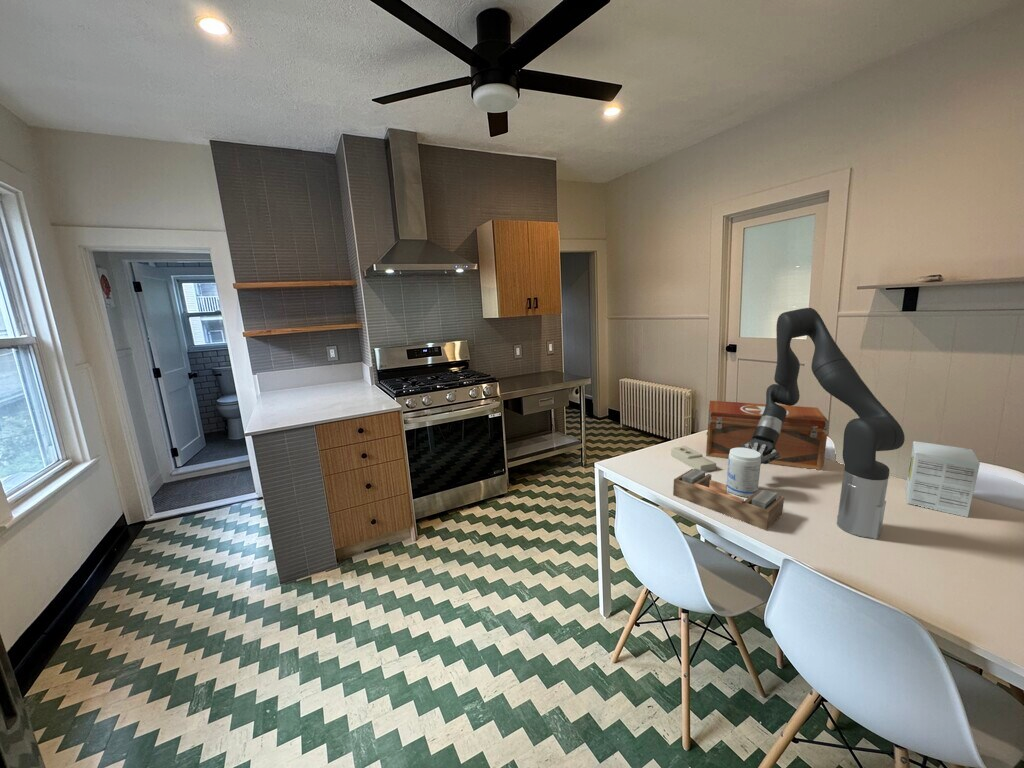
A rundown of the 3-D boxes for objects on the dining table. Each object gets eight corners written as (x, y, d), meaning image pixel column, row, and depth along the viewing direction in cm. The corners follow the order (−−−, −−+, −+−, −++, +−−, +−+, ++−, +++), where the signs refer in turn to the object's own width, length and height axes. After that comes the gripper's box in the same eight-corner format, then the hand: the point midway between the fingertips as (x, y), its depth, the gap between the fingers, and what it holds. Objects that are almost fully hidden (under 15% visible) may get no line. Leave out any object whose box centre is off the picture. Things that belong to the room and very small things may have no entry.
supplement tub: (720, 486, 140) (722, 448, 137) (744, 484, 141) (748, 445, 138) (738, 499, 130) (741, 458, 127) (764, 496, 131) (768, 456, 128)
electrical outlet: (700, 463, 151) (671, 447, 168) (700, 473, 152) (670, 456, 169) (716, 460, 153) (685, 445, 170) (715, 470, 153) (684, 454, 170)
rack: (782, 514, 120) (785, 485, 118) (766, 530, 113) (769, 499, 111) (691, 483, 143) (692, 459, 141) (673, 495, 135) (674, 469, 133)
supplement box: (904, 488, 132) (912, 440, 129) (962, 500, 123) (973, 448, 120) (905, 504, 123) (915, 452, 119) (969, 518, 114) (981, 462, 110)
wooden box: (824, 471, 147) (830, 421, 143) (705, 456, 166) (707, 412, 162) (813, 452, 165) (818, 407, 161) (706, 441, 184) (709, 400, 180)
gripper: (746, 421, 146) (729, 461, 142) (786, 429, 136) (770, 472, 131) (750, 431, 151) (734, 470, 146) (790, 440, 140) (774, 481, 136)
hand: (751, 471), depth 139 cm, fingers closed
